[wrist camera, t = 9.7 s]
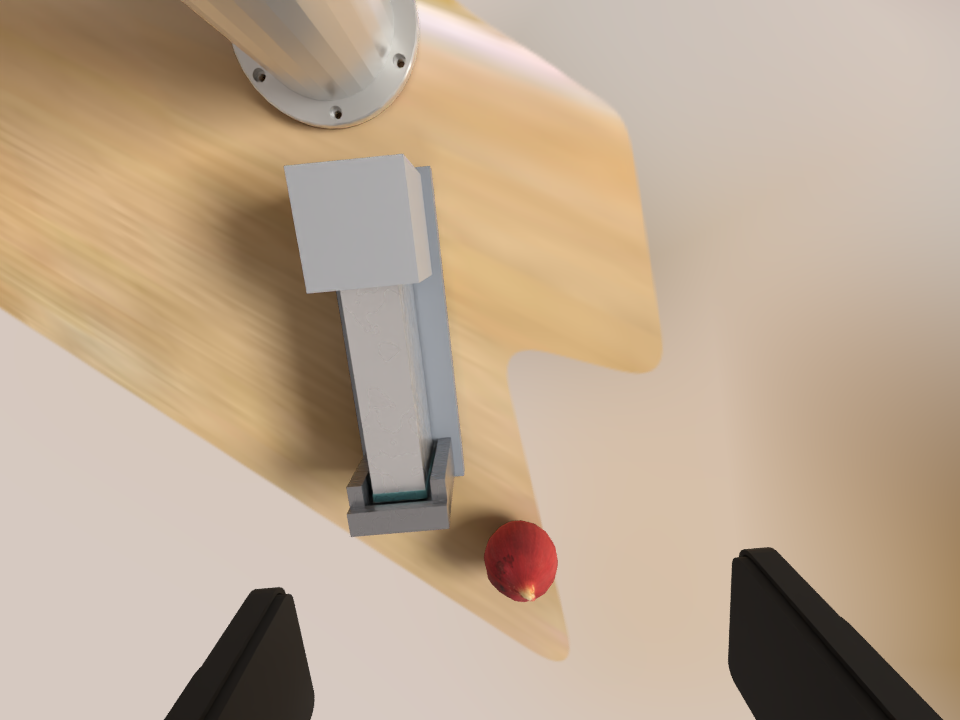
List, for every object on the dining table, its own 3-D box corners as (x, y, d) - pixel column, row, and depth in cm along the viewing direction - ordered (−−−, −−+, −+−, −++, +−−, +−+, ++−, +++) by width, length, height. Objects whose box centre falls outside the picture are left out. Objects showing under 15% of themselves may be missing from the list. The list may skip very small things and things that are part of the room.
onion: (491, 565, 42) (493, 637, 34) (478, 509, 41) (478, 571, 33) (554, 554, 42) (572, 624, 34) (544, 497, 41) (559, 556, 33)
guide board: (322, 179, 34) (269, 157, 26) (431, 168, 34) (414, 142, 25) (371, 476, 40) (341, 541, 31) (464, 468, 40) (460, 531, 31)
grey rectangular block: (361, 270, 35) (336, 275, 29) (410, 265, 34) (396, 270, 29) (390, 463, 38) (373, 503, 32) (435, 459, 38) (427, 498, 32)
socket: (370, 444, 38) (343, 493, 30) (451, 436, 38) (443, 485, 30) (375, 479, 39) (350, 536, 31) (455, 473, 39) (449, 528, 31)
